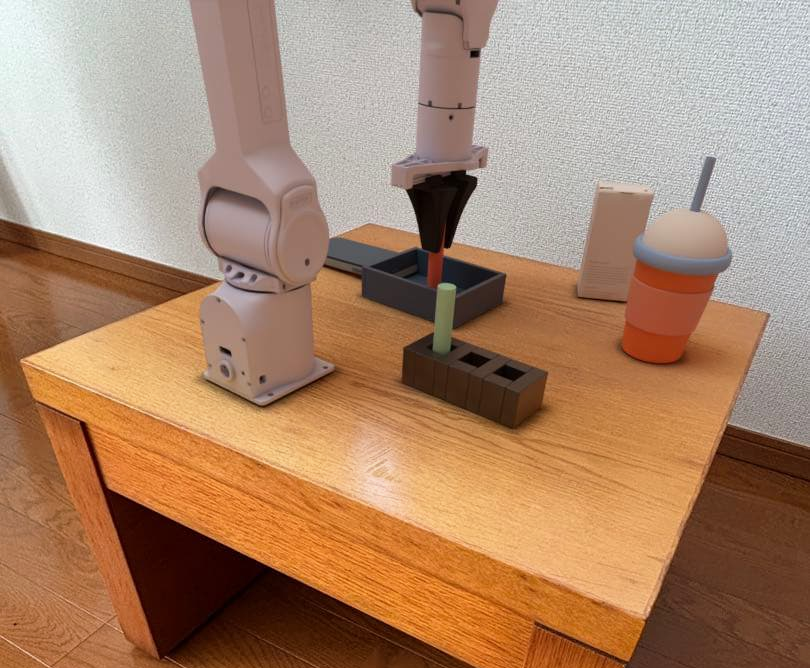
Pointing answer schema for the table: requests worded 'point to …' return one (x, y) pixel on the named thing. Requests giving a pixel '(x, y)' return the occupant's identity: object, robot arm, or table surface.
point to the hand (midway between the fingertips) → (436, 248)
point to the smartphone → (360, 256)
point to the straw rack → (475, 379)
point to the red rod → (435, 267)
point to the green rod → (444, 318)
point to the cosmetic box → (613, 239)
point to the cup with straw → (674, 278)
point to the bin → (412, 294)
